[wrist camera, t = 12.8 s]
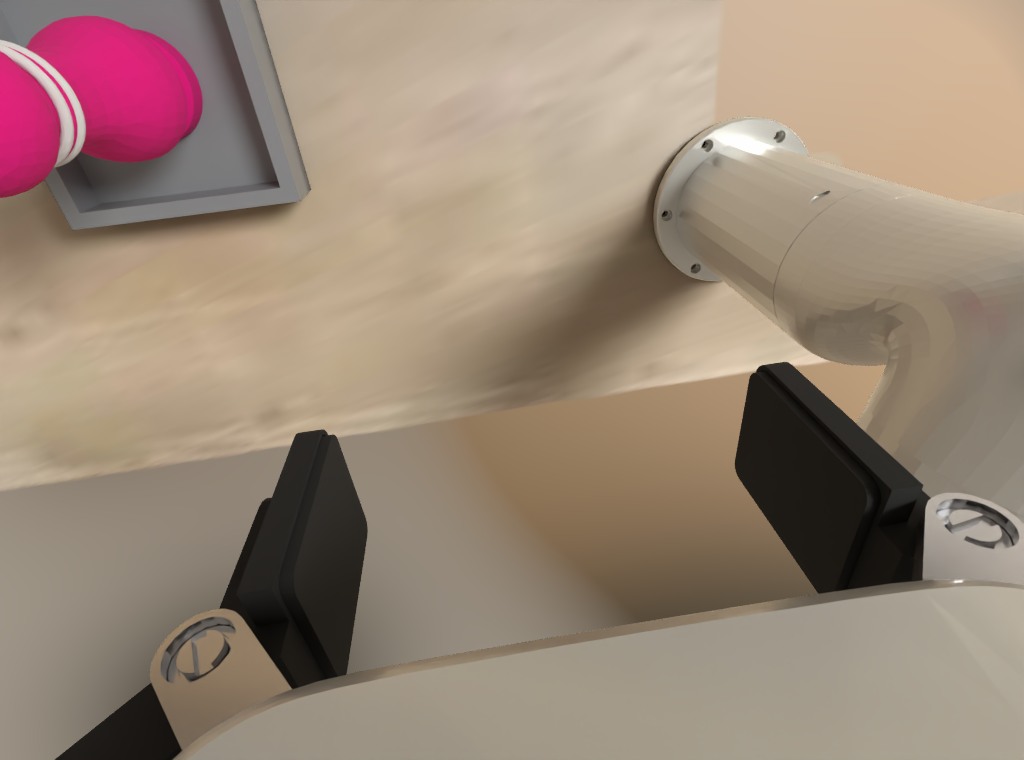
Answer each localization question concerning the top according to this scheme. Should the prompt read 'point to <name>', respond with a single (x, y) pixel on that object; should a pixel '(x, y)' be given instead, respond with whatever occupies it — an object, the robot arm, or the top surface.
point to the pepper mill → (90, 98)
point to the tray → (216, 139)
